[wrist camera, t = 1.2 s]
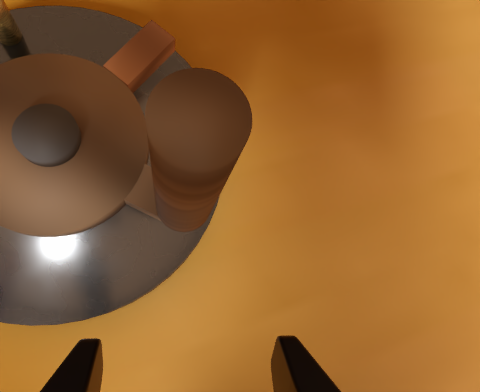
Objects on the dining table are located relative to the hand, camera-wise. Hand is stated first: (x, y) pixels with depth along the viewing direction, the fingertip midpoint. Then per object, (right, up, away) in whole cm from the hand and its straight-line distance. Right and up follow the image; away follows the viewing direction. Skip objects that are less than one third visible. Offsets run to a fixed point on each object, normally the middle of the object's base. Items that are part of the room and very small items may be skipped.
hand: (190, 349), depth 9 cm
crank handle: (-6, +7, +12) cm, 15 cm away
